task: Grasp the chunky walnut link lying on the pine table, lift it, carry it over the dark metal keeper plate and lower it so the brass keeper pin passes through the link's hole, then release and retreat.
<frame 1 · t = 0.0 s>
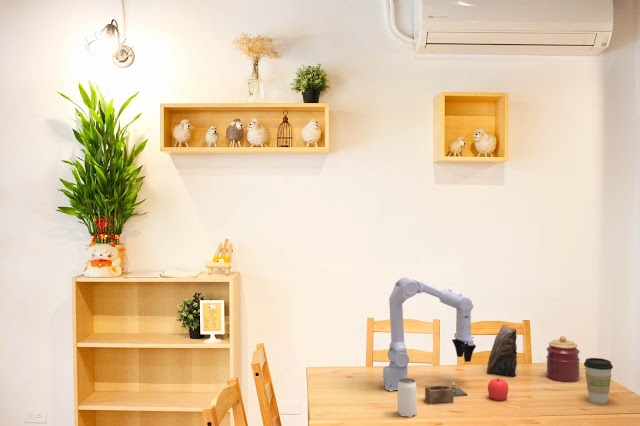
hand: (463, 359, 243), 10 cm above the table, fingers open, 7 cm apart
walnut link: (439, 401, 222), on the table
rock: (501, 373, 258), on the table
can: (407, 414, 209), on the table
keeper: (453, 392, 231), on the table
apple: (498, 399, 224), on the table
canister: (562, 378, 250), on the table
coffee cup: (598, 401, 220), on the table
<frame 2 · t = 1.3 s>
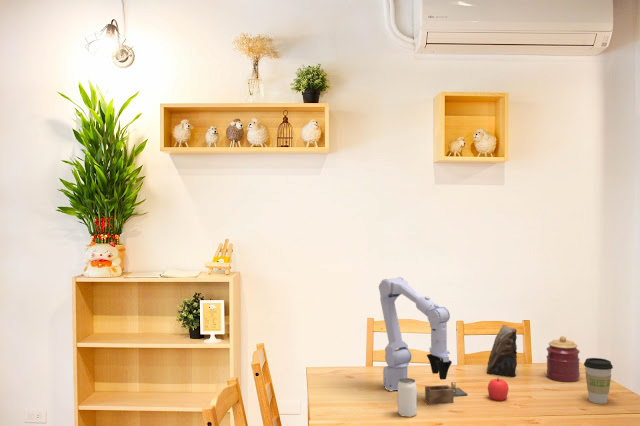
hand: (439, 376, 222), 9 cm above the table, fingers open, 7 cm apart
nothing on the table moved.
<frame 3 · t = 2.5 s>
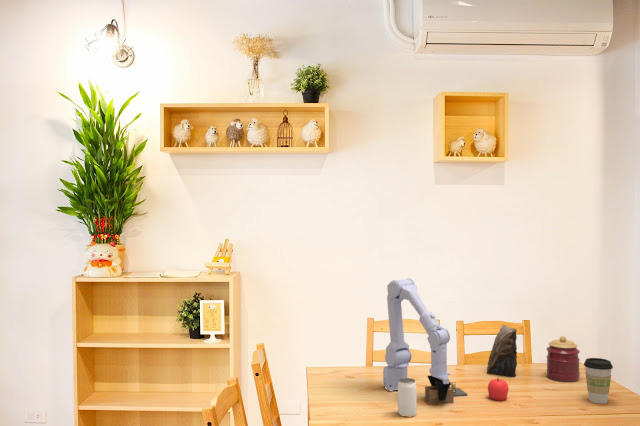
hand: (439, 397, 222), 1 cm above the table, fingers closed on walnut link, 6 cm apart
walnut link: (439, 401, 222), on the table, touching gripper
everything else where it was.
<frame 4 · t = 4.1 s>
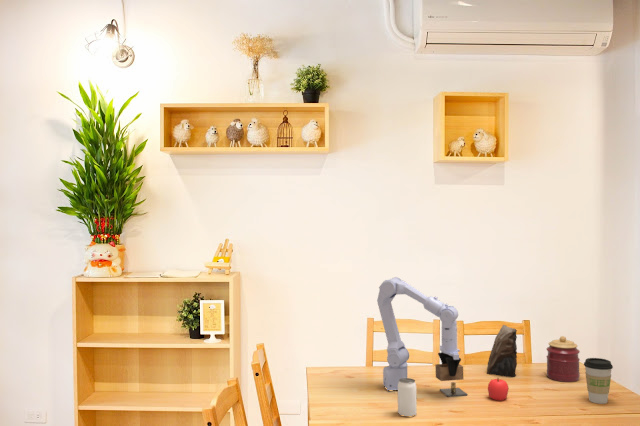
hand: (449, 373, 228), 8 cm above the table, fingers closed on walnut link, 6 cm apart
walnut link: (449, 378, 228), point 7 cm above the table, touching gripper
everything else where it was.
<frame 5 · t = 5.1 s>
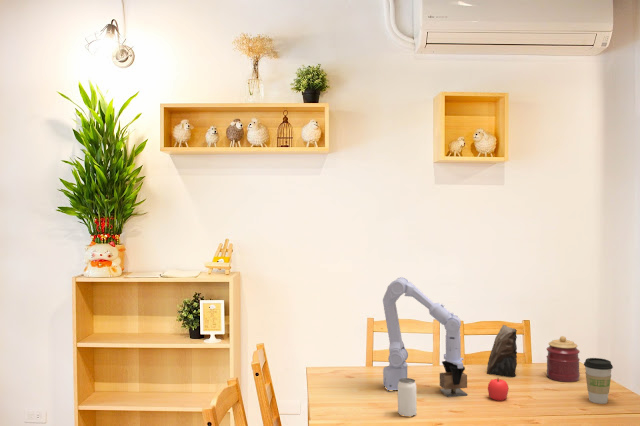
hand: (453, 381, 231), 4 cm above the table, fingers closed on walnut link, 6 cm apart
walnut link: (453, 386, 231), point 2 cm above the table, touching gripper
everything else where it was.
when the fingers open (4 cm above the table, at t = 5.8 s): walnut link drops 1 cm, resting on keeper.
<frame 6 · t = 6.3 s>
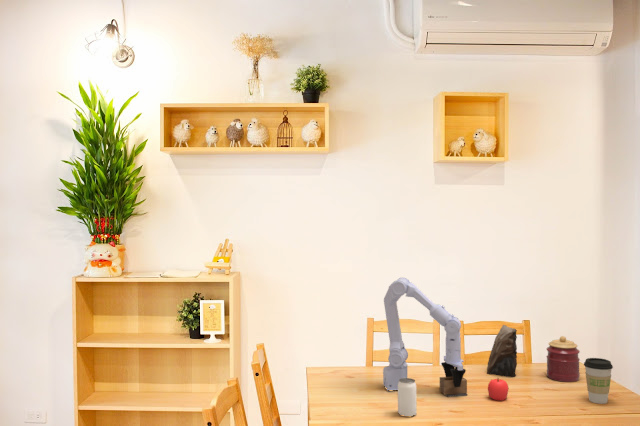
hand: (453, 383, 231), 4 cm above the table, fingers open, 7 cm apart
walnut link: (453, 391, 231), point 1 cm above the table, touching keeper
everything else where it was.
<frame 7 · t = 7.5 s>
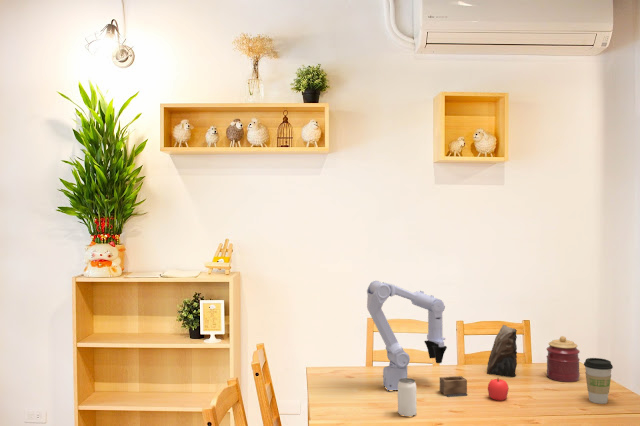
hand: (435, 360, 242), 10 cm above the table, fingers open, 7 cm apart
nothing on the table moved.
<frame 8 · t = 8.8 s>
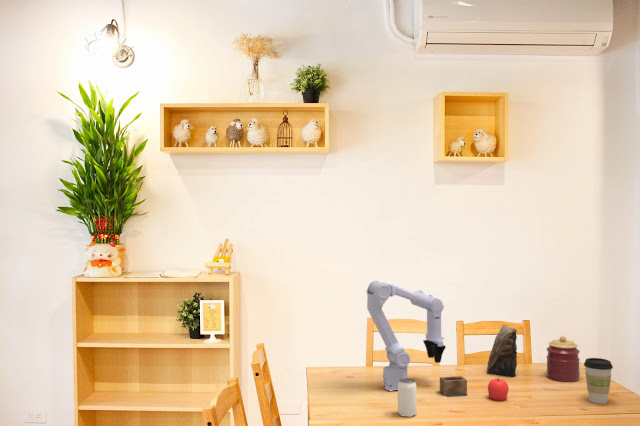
hand: (434, 359, 243), 10 cm above the table, fingers open, 7 cm apart
nothing on the table moved.
at the end: walnut link 0.1 cm off-centre on the keeper, point 0.6 cm above the keeper's base; the gripper is holding nothing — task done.
